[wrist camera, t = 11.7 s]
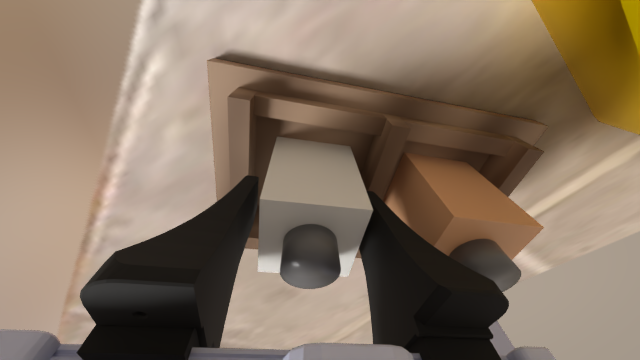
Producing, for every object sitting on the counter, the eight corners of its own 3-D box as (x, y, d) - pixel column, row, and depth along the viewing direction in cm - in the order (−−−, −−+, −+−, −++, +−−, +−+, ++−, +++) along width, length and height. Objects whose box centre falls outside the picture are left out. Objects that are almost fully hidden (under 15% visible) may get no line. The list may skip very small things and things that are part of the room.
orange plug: (466, 162, 15) (574, 252, 9) (435, 212, 18) (504, 311, 12) (404, 152, 15) (474, 242, 9) (380, 205, 17) (422, 306, 11)
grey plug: (350, 146, 14) (382, 236, 8) (335, 202, 17) (352, 304, 11) (277, 136, 14) (252, 225, 8) (273, 196, 16) (252, 300, 10)
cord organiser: (534, 120, 15) (608, 150, 11) (451, 237, 21) (482, 281, 17) (213, 58, 12) (173, 71, 9) (222, 213, 18) (200, 260, 14)
